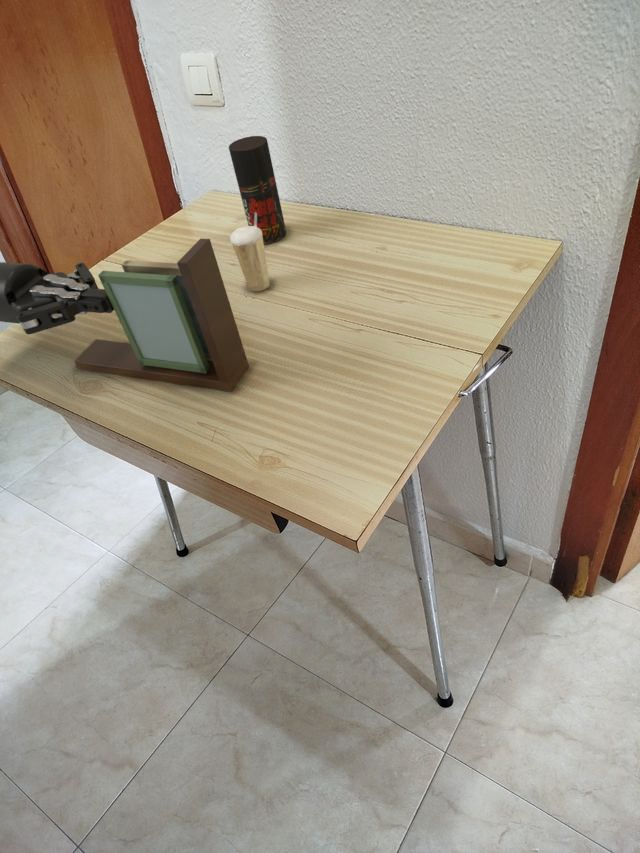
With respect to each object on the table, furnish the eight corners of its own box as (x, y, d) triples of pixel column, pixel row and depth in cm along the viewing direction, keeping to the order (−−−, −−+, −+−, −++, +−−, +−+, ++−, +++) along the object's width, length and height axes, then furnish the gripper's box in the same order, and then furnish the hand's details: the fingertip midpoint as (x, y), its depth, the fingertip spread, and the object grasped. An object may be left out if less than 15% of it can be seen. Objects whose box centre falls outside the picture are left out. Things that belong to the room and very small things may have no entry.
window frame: (78, 369, 80) (11, 252, 68) (99, 347, 83) (39, 231, 71) (231, 392, 71) (186, 263, 59) (249, 366, 74) (210, 238, 62)
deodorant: (244, 240, 99) (220, 148, 89) (268, 224, 102) (247, 134, 92) (270, 247, 96) (248, 153, 86) (293, 230, 99) (274, 137, 89)
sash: (139, 364, 75) (97, 275, 66) (144, 359, 76) (102, 270, 67) (206, 373, 72) (171, 280, 63) (210, 368, 72) (175, 275, 63)
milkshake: (283, 277, 89) (268, 214, 82) (262, 296, 86) (246, 232, 79) (259, 273, 91) (243, 211, 84) (238, 291, 88) (220, 228, 81)
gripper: (-51, 295, 69) (62, 306, 62) (25, 240, 77) (132, 244, 71) (-16, 347, 74) (92, 361, 68) (52, 290, 82) (154, 298, 76)
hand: (112, 301), depth 69 cm, fingers closed
